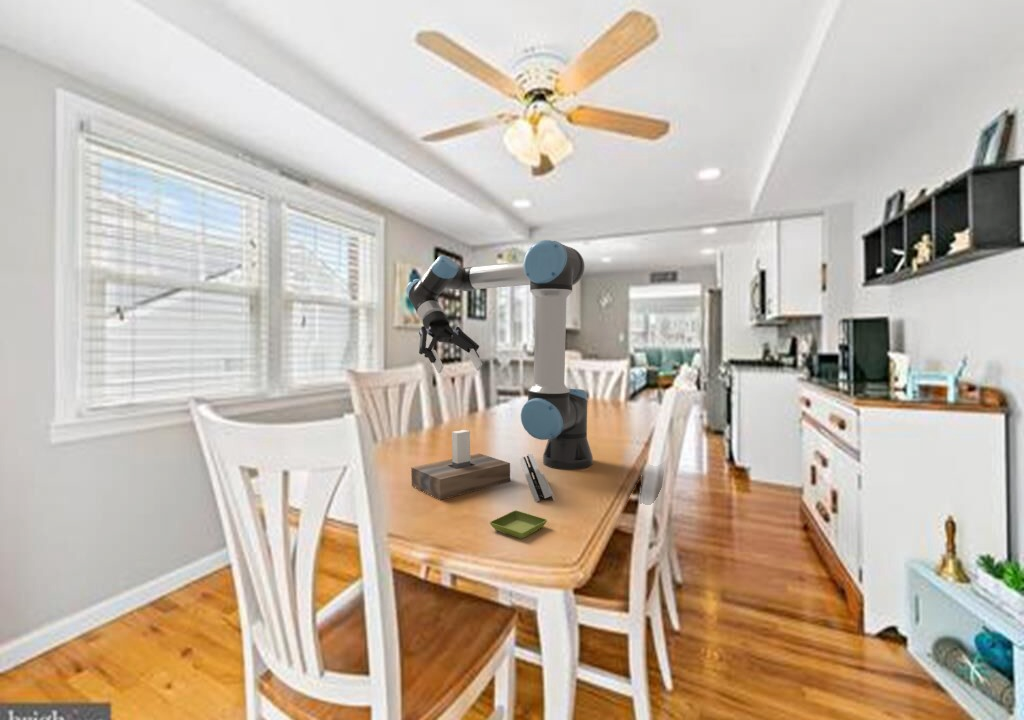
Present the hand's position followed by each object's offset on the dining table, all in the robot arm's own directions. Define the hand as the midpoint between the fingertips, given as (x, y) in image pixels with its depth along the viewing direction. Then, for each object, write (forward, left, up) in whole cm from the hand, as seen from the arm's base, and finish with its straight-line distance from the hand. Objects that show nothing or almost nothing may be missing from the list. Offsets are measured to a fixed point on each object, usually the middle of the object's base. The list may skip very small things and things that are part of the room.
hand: (461, 368), depth 140 cm
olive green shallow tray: (-30, +36, -30) cm, 56 cm away
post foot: (-6, +13, -30) cm, 33 cm away
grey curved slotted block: (-26, +12, -30) cm, 41 cm away
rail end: (-6, +13, -29) cm, 32 cm away
